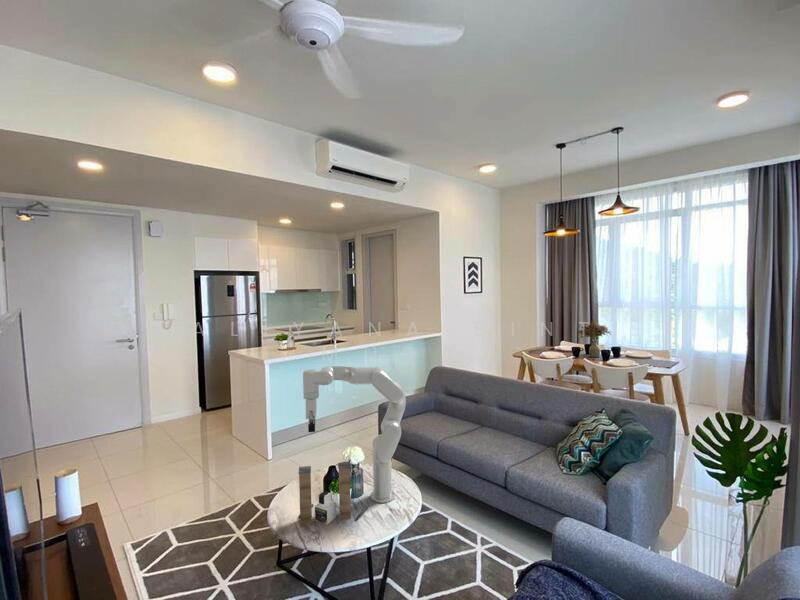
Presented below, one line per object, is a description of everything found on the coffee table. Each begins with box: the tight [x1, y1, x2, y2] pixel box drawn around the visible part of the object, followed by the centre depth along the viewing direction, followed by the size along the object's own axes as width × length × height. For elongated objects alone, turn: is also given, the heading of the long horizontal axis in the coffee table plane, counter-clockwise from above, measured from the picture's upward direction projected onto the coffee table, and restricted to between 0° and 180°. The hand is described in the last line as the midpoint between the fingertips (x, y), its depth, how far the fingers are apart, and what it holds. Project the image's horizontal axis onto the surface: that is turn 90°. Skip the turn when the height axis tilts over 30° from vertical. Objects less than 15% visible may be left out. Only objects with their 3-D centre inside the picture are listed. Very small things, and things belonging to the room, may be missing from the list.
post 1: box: [298, 465, 313, 526], centre depth 177 cm, size 5×5×25 cm
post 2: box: [337, 461, 352, 521], centre depth 181 cm, size 5×5×25 cm
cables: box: [298, 503, 368, 521], centre depth 184 cm, size 11×31×1 cm, turn 85°
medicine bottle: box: [314, 491, 337, 526], centre depth 179 cm, size 7×7×12 cm
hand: (312, 428), depth 192 cm, fingers open, 9 cm apart
